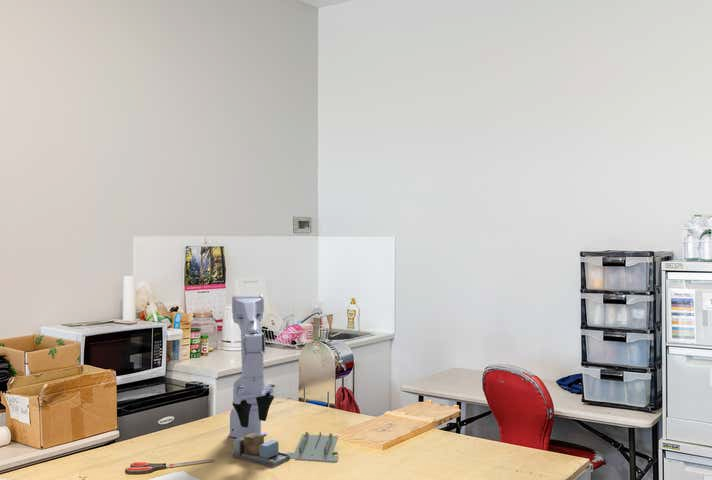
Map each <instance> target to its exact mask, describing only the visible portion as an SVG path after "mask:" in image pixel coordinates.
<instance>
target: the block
mask: <svg viewBox="0 0 712 480" xmlns="http://www.w3.org/2000/svg"><path fill="white" fill-rule="evenodd" d="M263 443H265V435H263V434H258V433H251V434H248V435H246V436H244V453H245V454H249V455H253V456H256V455H259V454H260V445H261V444H263Z"/></svg>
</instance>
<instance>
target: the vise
mask: <svg viewBox="0 0 712 480" xmlns="http://www.w3.org/2000/svg"><path fill="white" fill-rule="evenodd" d="M246 435H248V434H246ZM246 435H244V436H246ZM244 436H241V437H239V438H234V439H233V440H232V444H233V445H232V449H233V451H232V453H231V457H232V458H234V459H239V460H242V461H246V462H251V463H255V464H260V465H263V464H264V465H263V466H267V465H269V466H268V467H271V466H274V467H276V466H279V465H280V464H282V463H284V461H285V462H286V460H287V461H289V458H290V455H288V452H283V451H279V453H278V454H276V455H274V456H272V457H270V458H268V459H266V458H262V457H260V454H259V455H256V456H253V455H249V454H245V453H244ZM275 465H276V466H275Z"/></svg>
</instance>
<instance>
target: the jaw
mask: <svg viewBox="0 0 712 480" xmlns="http://www.w3.org/2000/svg"><path fill="white" fill-rule="evenodd" d="M279 446H280V445H279V440H275V439H270V440H268V441H264V443H263V444H261V445H260V457H262V458H266V459H268V458H270V457H272V456H274V455H276V454H278V453H279V452H280V451H279V449H280V448H279Z"/></svg>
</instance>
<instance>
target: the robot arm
mask: <svg viewBox="0 0 712 480" xmlns="http://www.w3.org/2000/svg"><path fill="white" fill-rule="evenodd" d="M264 303H265V302H264V295H262V294H257V295H256V294H255V295H254V294H253V295H252V294H249V295H248V294H247V295H246V294H245V295H236V294H235V295H233V296H232V298H231V313H232V320H233V323H235V324H237V325H238V327H239V330H240V342H241V343H240V346H241V350H240V351H241V376H240V377H239V378H237V379H236V380H235V381H234V383H233V390H232V406H233V407H232V409H231V411H230V414H229V433H228V434H227V436H228V437H231V438H234V439H236V438H239V437H241V436H244V435H246V434H251V433H258V434H263V435H264V436H266V435H268V433H267V432H266V431H262V422H265V421H267V418H268V413H269V410H270V406H271V404H272V403H273V400H274V398H275V396H274V395H273V393H274V391H273V390H274V388H273V386H271V385H270V386H269V385H266V386H265V381H264V354H265V351H266V337H265V333H264V332H262V326H261V322H262V319H263V316H264V311H265V310H264V307H265V304H264Z"/></svg>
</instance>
